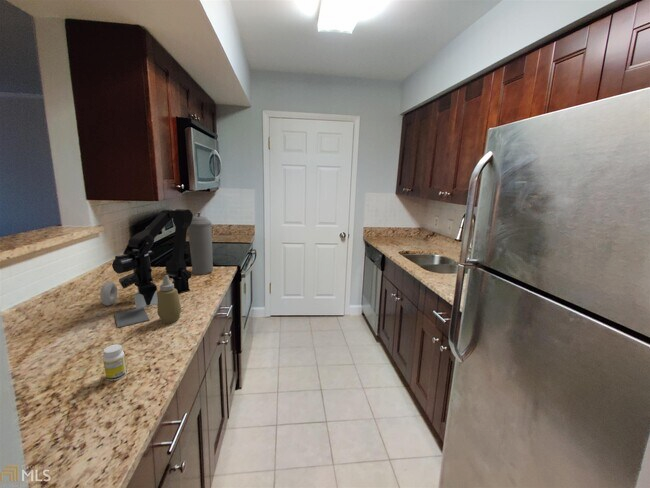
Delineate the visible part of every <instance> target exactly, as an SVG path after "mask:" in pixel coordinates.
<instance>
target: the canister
mask: <svg viewBox="0 0 650 488" xmlns="http://www.w3.org/2000/svg"><path fill="white" fill-rule="evenodd" d="M196 214H197V216H193V218H192V222H191V224H190V225H189V227H188V228H187V231H188V241H189V250H190V251H189V252H190V253H189V254H190V260H191V269H192V273H193V274H194V275H197V276H198V275H200V276H201V275H207V274H211V273H212V272H213V271H214V263H213V261H214V259H213V237H212V236H213V235H212V233H213V231H212V230H213V229H212V224H213V223H212V221H210V220H209V218H208V217H206V216H201V214H202V211H200V212H199V211H197V212H196Z"/></svg>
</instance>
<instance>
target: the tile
mask: <svg viewBox="0 0 650 488" xmlns="http://www.w3.org/2000/svg"><path fill="white" fill-rule="evenodd" d="M133 298H134V304H135V306H134V307H135V309H137V308H141V307H144V308H145V307H149V306H153V305H158V290H157V291H155V293H154V295H153V298H152V300H151V303H150V305H146V302H145V299H144V296H143V295H142V294H139V292H137V293H133Z"/></svg>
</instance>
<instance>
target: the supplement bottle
mask: <svg viewBox="0 0 650 488" xmlns="http://www.w3.org/2000/svg"><path fill="white" fill-rule="evenodd" d="M125 355H126V354H125V352H124V351H123V346H122V345H121V344H117V343H116V344H112V345H109V346H106V347H105V348H104V349H103V358H102V361H103V367H104V372H105V373H104V374H105V378H106V380H107V381H109V380H110V381H109V382H112V381H113V380H114V381H118V380H121V379H122V378H124V377H125V376H126V375H127V374H128V369H127V363H126V361H127V360H126V356H125ZM120 378H121V379H120ZM114 381H113V382H114Z"/></svg>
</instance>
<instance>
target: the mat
mask: <svg viewBox="0 0 650 488" xmlns="http://www.w3.org/2000/svg"><path fill="white" fill-rule="evenodd" d="M113 314H114V318H115V323H116V326H117V327H116V328H117V329H119V328H125V327H128V326H133V325H137V324H140V323H145V322H148V321H150V318H149V316H148V314H147V311H146V310H145V307H141V308H133V309H128V310H124V311H123V310H122V311H118V312H114V313H113Z"/></svg>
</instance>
